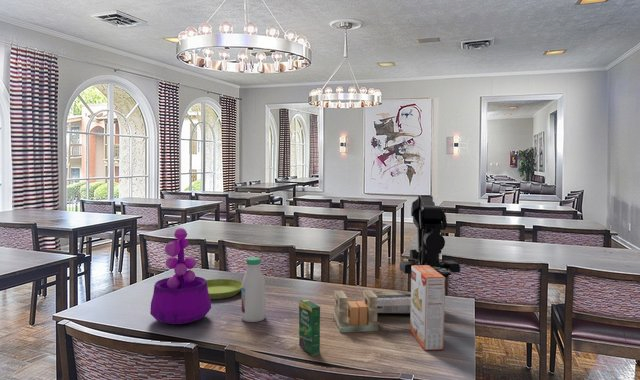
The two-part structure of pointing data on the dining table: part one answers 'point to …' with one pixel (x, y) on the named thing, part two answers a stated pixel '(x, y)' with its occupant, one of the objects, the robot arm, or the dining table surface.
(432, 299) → the cracker box
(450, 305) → the dining table surface
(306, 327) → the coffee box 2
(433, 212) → the robot arm
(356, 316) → the block
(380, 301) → the shaft
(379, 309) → the coffee box
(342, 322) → the frame
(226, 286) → the saucer
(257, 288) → the milk bottle
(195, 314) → the decorative plant
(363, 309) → the block
